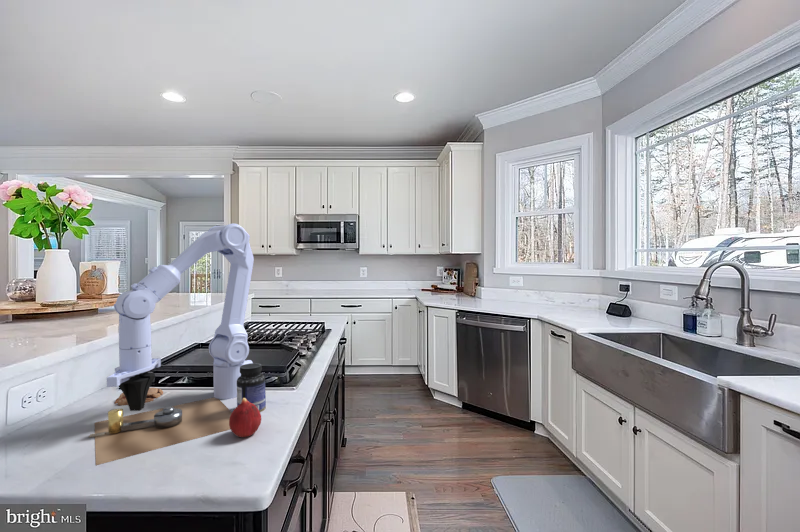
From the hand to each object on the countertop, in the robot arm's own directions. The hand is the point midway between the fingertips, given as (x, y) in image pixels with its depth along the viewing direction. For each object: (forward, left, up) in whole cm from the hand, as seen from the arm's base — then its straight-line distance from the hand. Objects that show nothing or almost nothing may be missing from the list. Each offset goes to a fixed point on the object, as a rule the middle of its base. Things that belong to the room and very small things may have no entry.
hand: (136, 409), depth 83 cm
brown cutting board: (-5, +7, -3) cm, 9 cm away
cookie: (-2, -16, -4) cm, 16 cm away
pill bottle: (-21, +10, -3) cm, 23 cm away
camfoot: (-1, +6, -2) cm, 7 cm away
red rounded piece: (-16, +22, -3) cm, 28 cm away
